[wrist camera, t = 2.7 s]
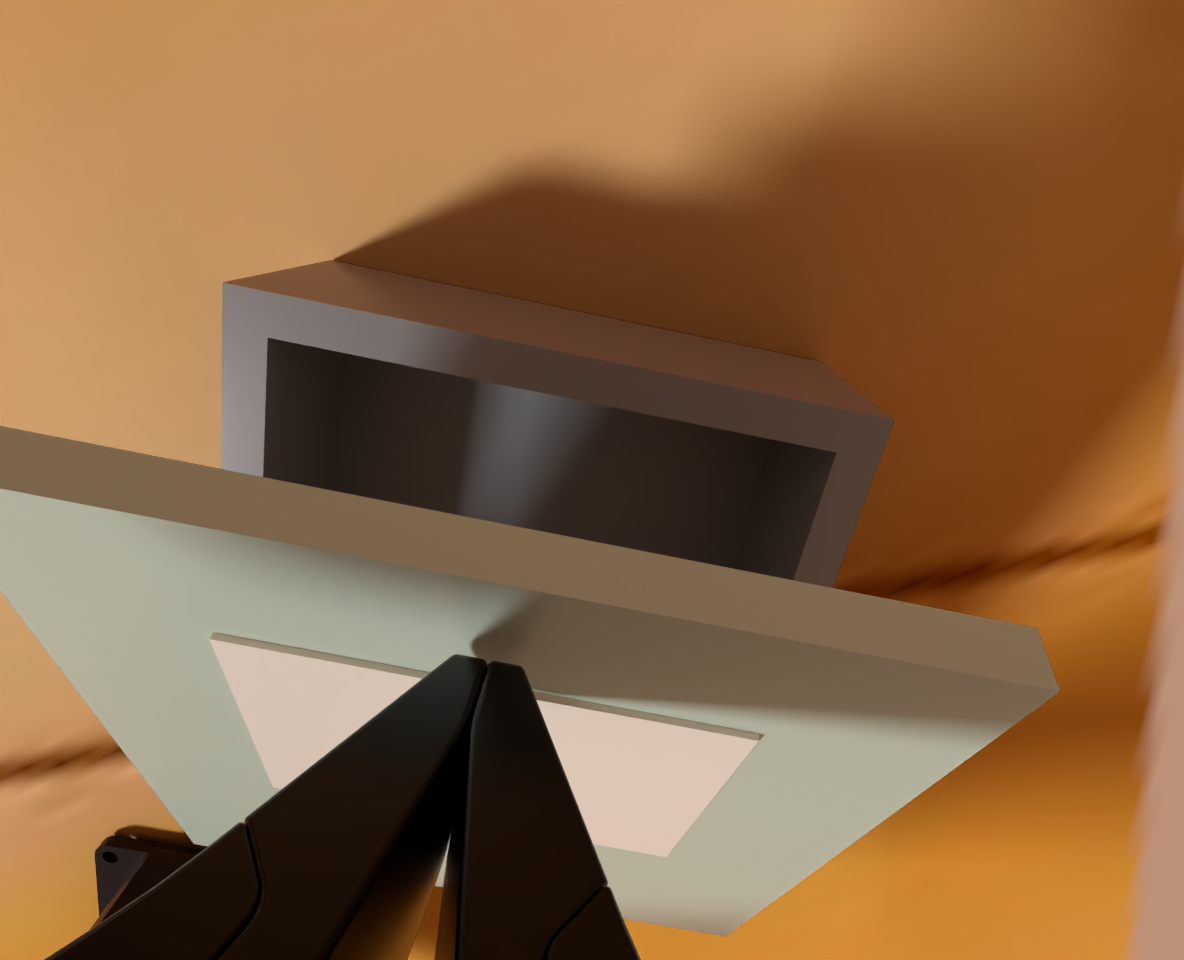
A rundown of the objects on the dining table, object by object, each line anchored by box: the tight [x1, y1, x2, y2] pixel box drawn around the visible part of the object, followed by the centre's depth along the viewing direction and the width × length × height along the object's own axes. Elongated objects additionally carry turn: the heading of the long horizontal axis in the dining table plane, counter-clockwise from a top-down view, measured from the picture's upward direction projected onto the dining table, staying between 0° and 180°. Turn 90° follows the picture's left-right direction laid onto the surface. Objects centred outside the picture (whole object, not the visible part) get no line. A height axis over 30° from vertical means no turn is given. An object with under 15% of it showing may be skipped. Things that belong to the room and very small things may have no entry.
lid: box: [0, 426, 1060, 936], centre depth 12 cm, size 12×12×1 cm
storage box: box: [221, 260, 894, 588], centre depth 17 cm, size 12×12×5 cm
